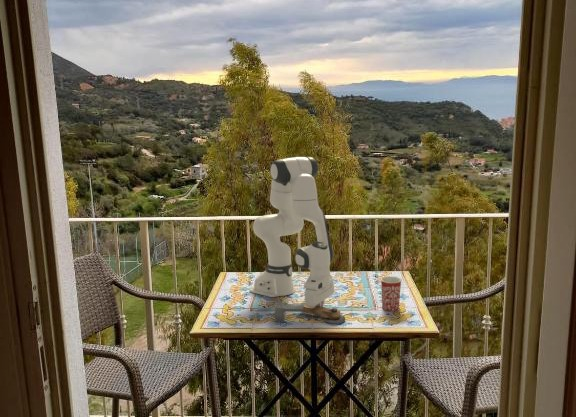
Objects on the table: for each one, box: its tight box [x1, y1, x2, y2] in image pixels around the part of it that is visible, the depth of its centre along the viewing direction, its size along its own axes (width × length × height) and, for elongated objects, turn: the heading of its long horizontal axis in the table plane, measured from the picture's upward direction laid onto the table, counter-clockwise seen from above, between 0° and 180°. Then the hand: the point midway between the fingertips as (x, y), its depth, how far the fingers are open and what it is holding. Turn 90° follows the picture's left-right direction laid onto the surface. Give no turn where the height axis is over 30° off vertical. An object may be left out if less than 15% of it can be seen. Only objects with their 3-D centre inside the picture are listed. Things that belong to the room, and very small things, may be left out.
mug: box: [380, 276, 403, 312], centre depth 236 cm, size 13×9×14 cm
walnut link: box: [300, 302, 341, 320], centre depth 227 cm, size 20×5×4 cm, turn 56°
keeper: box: [273, 301, 304, 323], centre depth 225 cm, size 12×7×6 cm, turn 84°
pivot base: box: [323, 314, 346, 325], centre depth 224 cm, size 9×9×1 cm
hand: (320, 310), depth 231 cm, fingers closed
